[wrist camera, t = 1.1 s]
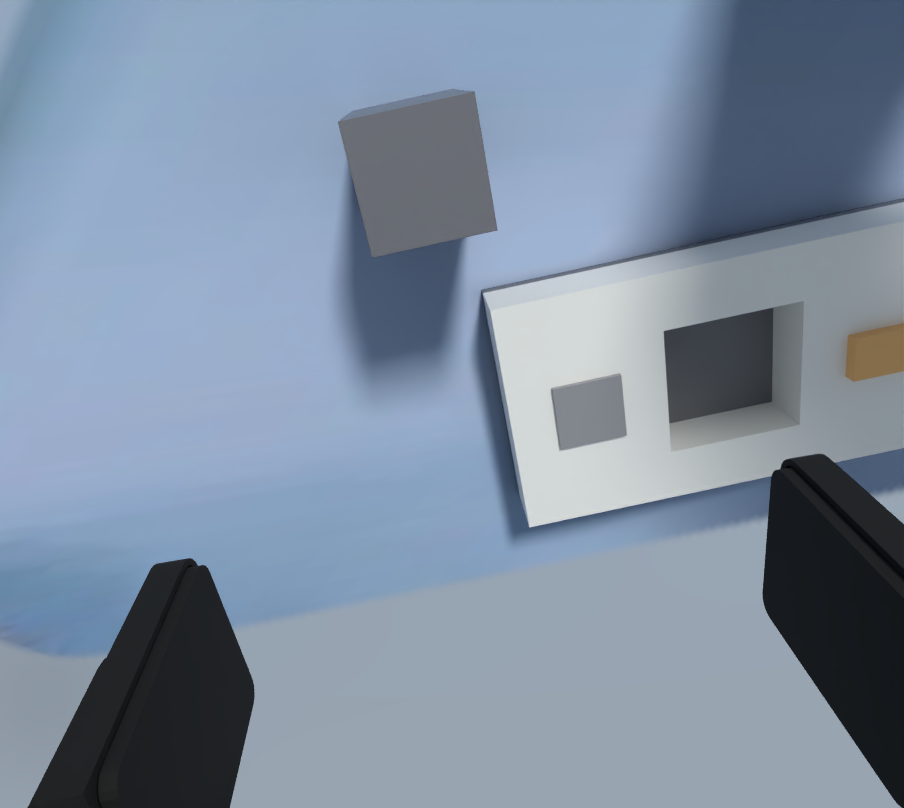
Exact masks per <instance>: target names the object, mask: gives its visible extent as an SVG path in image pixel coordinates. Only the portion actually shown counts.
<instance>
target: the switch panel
mask: <svg viewBox="0 0 904 808" xmlns="http://www.w3.org/2000/svg"><path fill="white" fill-rule="evenodd" d="M482 296H483V301H484V307H485V312H486V318H487V323H488V328H489V334H490V339H491V345H492V350H493V356H494V361H495V367H496V372H497V377H498V383H499V388H500V394H501V399H502V405H503V410H504V415H505V421H506V426H507V432H508V437H509V443H510V448H511V454H512V459H513V464H514V470H515V475H516V481H517V486H518V492H519V495H520V499H521V502H522V505H523V508H524V512H525V515H526V518H527V521H528V524H529V527H534V526H539V525H544V524H548V523H553V522H558V521H562V520H567V519H572V518H577V517H581V516H586V515H591V514H595V513H600V512H605V511H610V510H614V509H619V508H624V507H629V506H633V505H638V504H643V503H647V502H652V501H657V500H662V499H666V498H671V497H676V496H680V495H685V494H690V493H695V492H699V491H704V490H709V489H713V488H718V487H723V486H728V485H732V484H737V483H742V482H746V481H751V480H756V479H761V478H765V477H770V476H772V474H773V472H774V471H775V470H778V469H780V468H781V464H782V463H783V461H784V460H786V459H790V458H796V457H802V456H808V455H814V454H824V455H826V456H827V457H829V458H830V459H831V460H832V461H833V462H834V463H836V462H841V461H846V460H850V459H855V458H860V457H864V456H869V455H874V454H879V453H883V452H888V451H893V450H897V449H902V448H904V199H899V200H895V201H890V202H885V203H881V204H876V205H872V206H867V207H862V208H858V209H853V210H848V211H844V212H839V213H835V214H830V215H825V216H821V217H816V218H812V219H807V220H802V221H798V222H793V223H788V224H784V225H779V226H775V227H770V228H765V229H761V230H756V231H752V232H747V233H742V234H738V235H733V236H728V237H724V238H719V239H715V240H710V241H705V242H701V243H696V244H692V245H687V246H682V247H678V248H673V249H668V250H664V251H659V252H655V253H650V254H645V255H641V256H636V257H632V258H627V259H622V260H618V261H613V262H608V263H604V264H599V265H595V266H590V267H585V268H581V269H576V270H572V271H567V272H562V273H558V274H553V275H548V276H544V277H539V278H535V279H530V280H525V281H521V282H516V283H512V284H507V285H502V286H498V287H493V288H488V289H484V290H482Z"/></svg>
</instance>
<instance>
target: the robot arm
mask: <svg viewBox="0 0 904 808" xmlns="http://www.w3.org/2000/svg"><path fill="white" fill-rule="evenodd" d="M763 602H764V606H765V609H766V611H767V613H768V615H769V617H770V619H771V620H772V622H773V623H774V625H775V626H776V628H777V629H778V630H779V632H780V634H781V635H782V636H783V638H784V639H785V641H786V642H787V644H788V645H789V647H790V648H791V650H792V651H793V653H794V654H795V655H796V657H797V658H798V660H799V661H800V663H801V664H802V666H803V667H804V669H805V670H806V671H807V673H808V674H809V676H810V677H811V679H812V680H813V682H814V683H815V685H816V686H817V687H818V689H819V691H820V692H821V694H822V695H823V696H824V698H825V699H826V701H827V702H828V704H829V705H830V707H831V708H832V709H833V711H834V713H835V714H836V716H837V717H838V718H839V720H840V721H841V723H842V724H843V726H844V727H845V729H846V730H847V732H848V733H849V734H850V736H851V737H852V739H853V740H854V742H855V743H856V745H857V746H858V748H859V749H860V751H861V752H862V754H863V755H864V757H865V758H866V759H867V761H868V762H869V764H870V765H871V767H872V768H873V770H874V771H875V773H876V774H877V775H878V777H879V778H880V780H881V781H882V783H883V784H884V786H885V787H886V789H887V790H888V791H889V793H890V794H891V796H892V797H893V799H894V800H895V801H896V803H897V804H898V805H900V806H901V807H902V808H904V524H903V523H902V522H901V521H899V520H898V519H897V518H896V517H895V516H894V515H893V514H891V513H890V512H889V511H888V510H887V509H886V508H885V507H884V506H883V505H881V504H880V503H879V502H878V501H877V500H876V499H875V498H874V497H872V496H871V495H870V494H869V493H868V492H867V491H866V490H865V489H864V488H862V487H861V486H860V485H859V484H858V483H857V482H856V481H855V480H853V479H852V478H851V477H850V476H849V475H848V474H847V473H846V472H844V471H843V470H842V469H841V468H840V467H839V466H838V465H837V464H835V463H834V462H833V461H832V460H831V459H830V458H829V457H827V456H826V455H824V454H814V455H808V456H802V457H796V458H790V459H786V460H784V461H783V463H782V464H781V468H780V469H778V470H775V471H774V472H773V474H772V478H771V489H770V502H769V516H768V529H767V542H766V555H765V569H764V582H763ZM253 703H254V684H253V680H252V677H251V675H250V672H249V669H248V667H247V664H246V662H245V659H244V657H243V655H242V652H241V649H240V647H239V644H238V642H237V639H236V637H235V634H234V632H233V629H232V627H231V624H230V622H229V619H228V617H227V614H226V612H225V609H224V607H223V604H222V602H221V599H220V597H219V594H218V592H217V589H216V587H215V584H214V582H213V579H212V577H211V574H210V572H209V570H208V568H207V567H206V566H204V565H201V566H198V565H197V563H196V562H195V561H194V560H193V559H190V558H188V559H182V560H176V561H170V562H164V563H158V564H156V565H154V566H153V567H152V568H151V570H150V572H149V574H148V576H147V578H146V580H145V582H144V584H143V586H142V588H141V590H140V592H139V594H138V596H137V598H136V600H135V602H134V604H133V606H132V608H131V610H130V612H129V614H128V616H127V618H126V620H125V622H124V624H123V626H122V628H121V630H120V632H119V634H118V636H117V638H116V640H115V642H114V644H113V646H112V648H111V650H110V652H109V654H108V656H107V658H105V659H104V660H103V662H102V663H101V665H100V666H99V668H98V669H97V671H96V673H95V675H94V677H93V679H92V681H91V683H90V685H89V687H88V689H87V691H86V693H85V695H84V697H83V699H82V701H81V703H80V705H79V707H78V709H77V711H76V713H75V715H74V717H73V719H72V721H71V723H70V725H69V727H68V729H67V731H66V733H65V735H64V737H63V739H62V741H61V743H60V745H59V747H58V749H57V751H56V753H55V755H54V757H53V759H52V760H51V762H50V764H49V766H48V769H47V770H46V772H45V774H44V777H43V778H42V781H41V782H40V784H39V786H38V789H37V791H36V792H35V794H34V796H33V798H32V800H31V802H30V804H29V806H28V808H230V803H231V799H232V795H233V791H234V786H235V782H236V778H237V773H238V769H239V765H240V760H241V756H242V751H243V747H244V743H245V738H246V734H247V730H248V725H249V721H250V717H251V712H252V708H253Z"/></svg>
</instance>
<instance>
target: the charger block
mask: <svg viewBox="0 0 904 808" xmlns="http://www.w3.org/2000/svg"><path fill="white" fill-rule="evenodd" d="M338 124H339V128H340V132H341V136H342V140H343V144H344V148H345V152H346V156H347V160H348V164H349V168H350V172H351V176H352V180H353V184H354V188H355V192H356V195H357V199H358V203H359V207H360V211H361V215H362V219H363V223H364V227H365V231H366V235H367V239H368V243H369V247H370V251H371V255H372V258H373V257H377V256H382V255H386V254H391V253H396V252H400V251H405V250H409V249H414V248H419V247H423V246H428V245H432V244H437V243H442V242H446V241H451V240H455V239H460V238H465V237H469V236H474V235H478V234H483V233H488V232H492V231H497V225H496V219H495V213H494V206H493V200H492V194H491V188H490V182H489V176H488V170H487V164H486V158H485V152H484V146H483V140H482V134H481V128H480V122H479V116H478V110H477V104H476V98H475V92H473V91H464V90H455V89H450V90H446V91H441V92H437V93H432V94H428V95H423V96H419V97H414V98H410V99H405V100H401V101H396V102H391V103H387V104H382V105H378V106H373V107H369V108H364V109H360V110H355V111H352V112H351V113H349V114H348V115H346V116H345V117H344V118H342V119H341V120H340V121H338Z"/></svg>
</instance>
